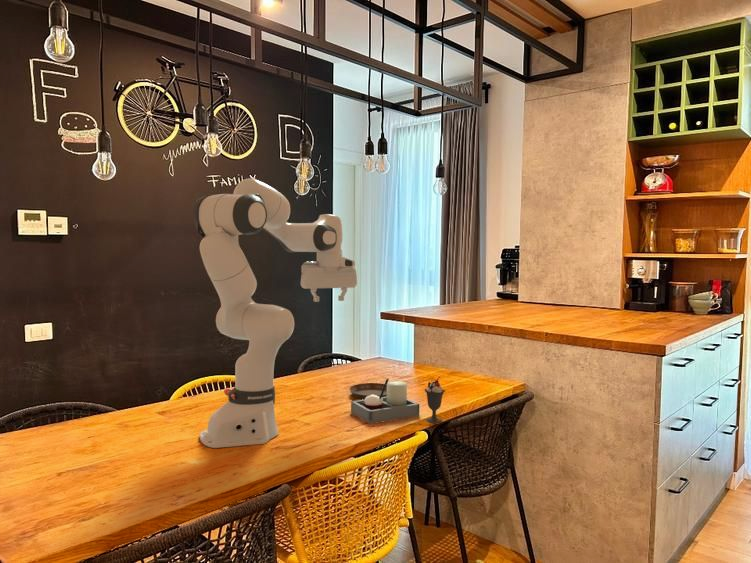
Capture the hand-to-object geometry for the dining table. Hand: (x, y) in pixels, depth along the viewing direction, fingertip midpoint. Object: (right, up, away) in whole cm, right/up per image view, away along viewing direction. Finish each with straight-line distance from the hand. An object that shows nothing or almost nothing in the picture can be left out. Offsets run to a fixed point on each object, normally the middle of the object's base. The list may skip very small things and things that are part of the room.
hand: (328, 301), depth 196 cm
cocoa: (+16, -37, -10) cm, 42 cm away
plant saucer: (+15, -37, +17) cm, 43 cm away
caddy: (+19, -38, -7) cm, 43 cm away
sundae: (+35, -39, -13) cm, 54 cm away
